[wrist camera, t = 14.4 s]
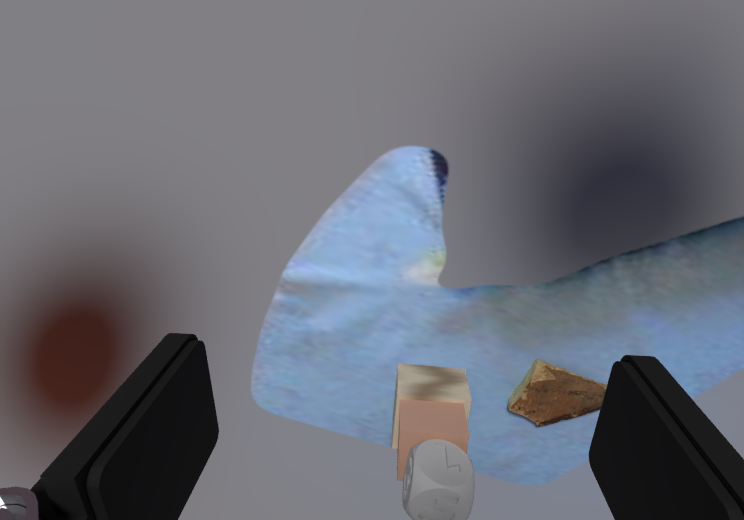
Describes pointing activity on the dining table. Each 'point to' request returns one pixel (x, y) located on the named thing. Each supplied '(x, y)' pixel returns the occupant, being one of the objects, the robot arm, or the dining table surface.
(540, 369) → the shard
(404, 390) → the tower base
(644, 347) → the dining table surface
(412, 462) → the die
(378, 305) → the dining table surface
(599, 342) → the dining table surface
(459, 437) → the tower top
